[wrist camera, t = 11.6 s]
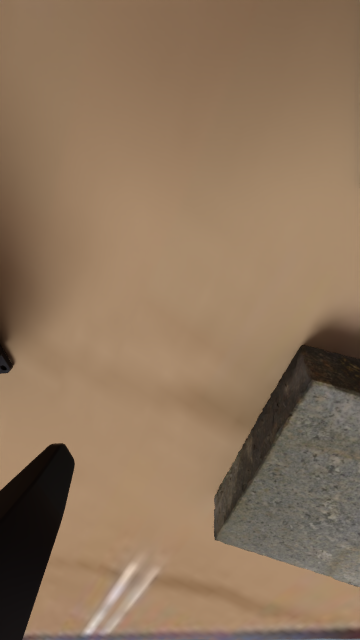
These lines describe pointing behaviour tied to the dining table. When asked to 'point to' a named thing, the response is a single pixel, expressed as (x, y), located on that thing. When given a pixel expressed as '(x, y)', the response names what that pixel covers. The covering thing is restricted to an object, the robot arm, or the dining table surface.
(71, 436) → the dining table surface
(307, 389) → the stone block
